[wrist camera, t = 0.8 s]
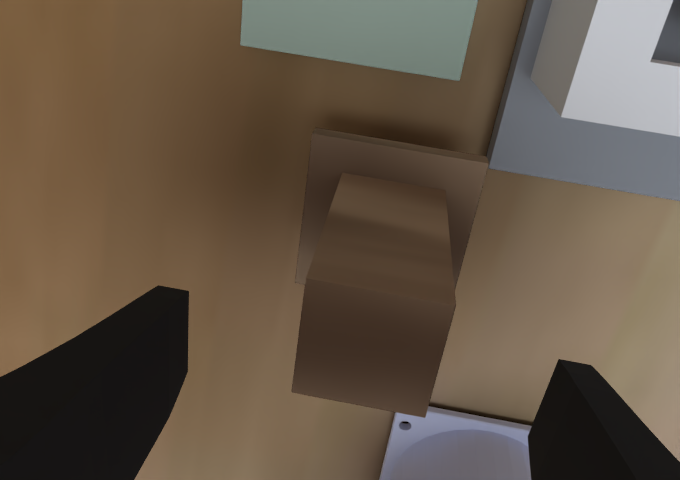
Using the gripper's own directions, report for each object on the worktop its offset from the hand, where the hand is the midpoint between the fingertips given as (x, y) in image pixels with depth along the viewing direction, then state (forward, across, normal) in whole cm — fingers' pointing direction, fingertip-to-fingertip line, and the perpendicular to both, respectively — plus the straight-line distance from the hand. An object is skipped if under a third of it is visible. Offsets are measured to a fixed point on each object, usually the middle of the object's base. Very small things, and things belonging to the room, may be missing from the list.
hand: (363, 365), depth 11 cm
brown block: (+10, 0, 0) cm, 10 cm away
